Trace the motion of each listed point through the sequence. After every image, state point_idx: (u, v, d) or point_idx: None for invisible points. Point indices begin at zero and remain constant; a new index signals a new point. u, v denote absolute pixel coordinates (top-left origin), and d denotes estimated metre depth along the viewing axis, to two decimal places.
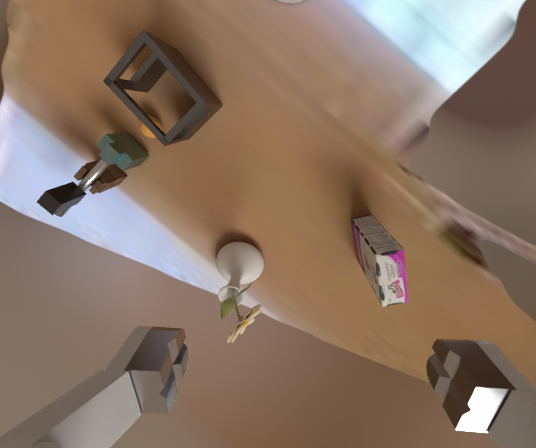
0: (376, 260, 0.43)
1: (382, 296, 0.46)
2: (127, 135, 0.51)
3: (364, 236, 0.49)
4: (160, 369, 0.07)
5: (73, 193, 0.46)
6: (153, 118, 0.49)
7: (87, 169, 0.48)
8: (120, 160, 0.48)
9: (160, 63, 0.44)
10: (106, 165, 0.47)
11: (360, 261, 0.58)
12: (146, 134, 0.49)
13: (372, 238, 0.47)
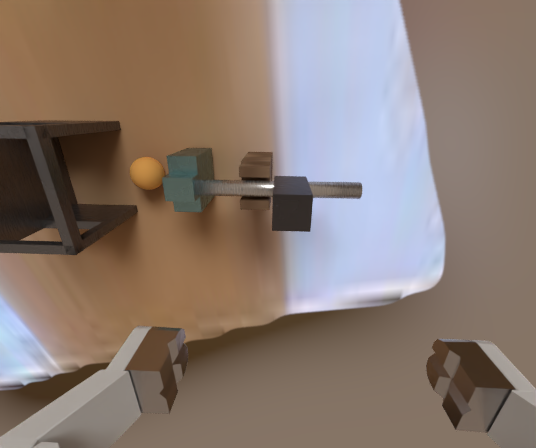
0: None
1: None
2: None
3: None
4: (160, 369, 0.07)
5: None
6: None
7: None
8: (185, 171, 0.27)
9: None
10: (202, 182, 0.26)
11: None
12: (149, 170, 0.31)
13: None
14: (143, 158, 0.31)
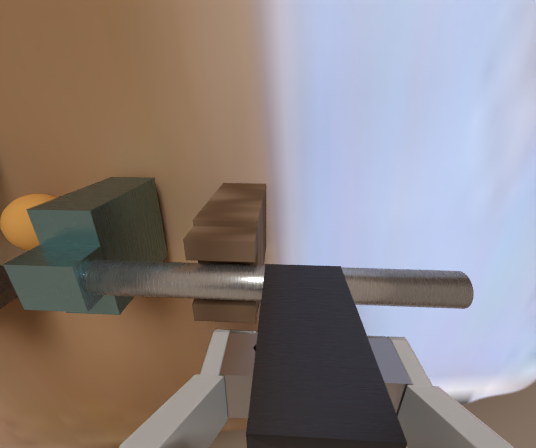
0: None
1: None
2: None
3: None
4: None
5: None
6: None
7: None
8: (73, 240, 0.12)
9: None
10: (103, 270, 0.11)
11: None
12: None
13: None
14: (25, 198, 0.17)
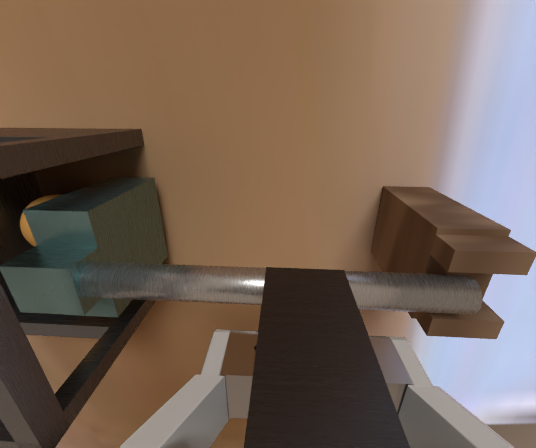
0: None
1: None
2: None
3: None
4: None
5: None
6: None
7: (429, 315, 0.12)
8: (70, 242, 0.12)
9: None
10: (100, 272, 0.11)
11: None
12: None
13: None
14: None
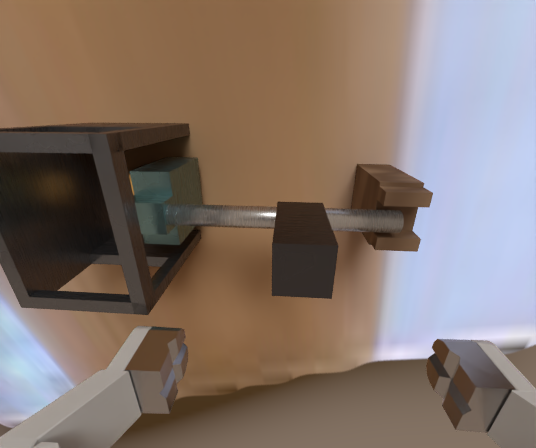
0: None
1: None
2: None
3: None
4: (160, 369, 0.07)
5: None
6: None
7: (376, 237, 0.19)
8: (156, 192, 0.20)
9: None
10: (177, 208, 0.19)
11: None
12: None
13: None
14: None
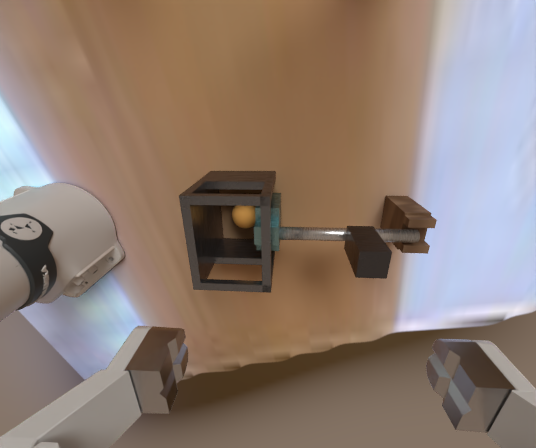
0: None
1: None
2: None
3: None
4: (160, 369, 0.07)
5: (350, 242, 0.29)
6: None
7: (403, 245, 0.32)
8: None
9: (231, 250, 0.39)
10: (285, 229, 0.32)
11: None
12: None
13: None
14: None
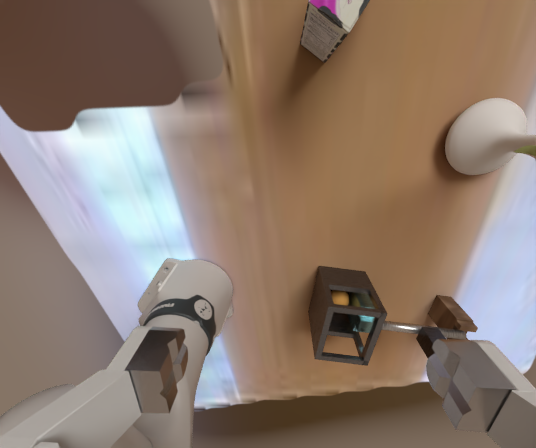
0: (355, 20, 0.24)
1: None
2: None
3: (333, 48, 0.30)
4: (160, 369, 0.07)
5: (426, 340, 0.45)
6: (347, 304, 0.53)
7: None
8: None
9: None
10: None
11: None
12: None
13: (328, 40, 0.29)
14: None
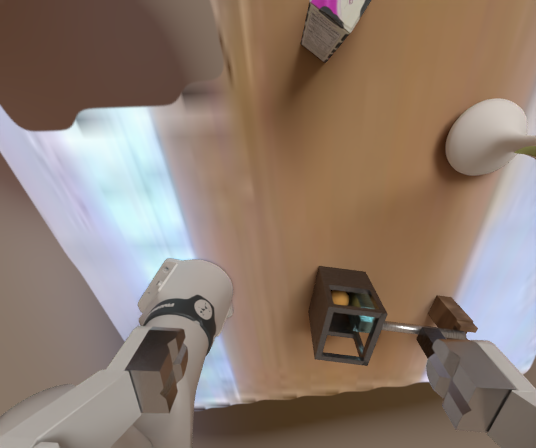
0: (357, 21, 0.24)
1: None
2: None
3: (334, 48, 0.30)
4: (160, 369, 0.07)
5: (426, 340, 0.45)
6: (347, 304, 0.53)
7: None
8: None
9: None
10: None
11: None
12: None
13: (329, 40, 0.29)
14: None
